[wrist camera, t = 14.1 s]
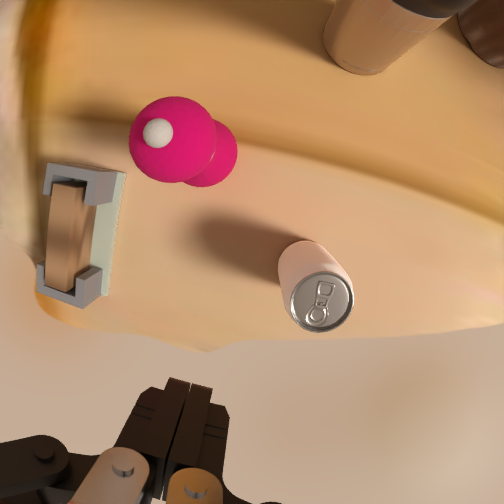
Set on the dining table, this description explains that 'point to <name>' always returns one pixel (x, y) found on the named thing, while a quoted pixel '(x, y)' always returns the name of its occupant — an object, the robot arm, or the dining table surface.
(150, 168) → the pepper mill
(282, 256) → the can
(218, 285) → the dining table surface
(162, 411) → the robot arm
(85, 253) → the slat
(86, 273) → the holder
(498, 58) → the plant pot
